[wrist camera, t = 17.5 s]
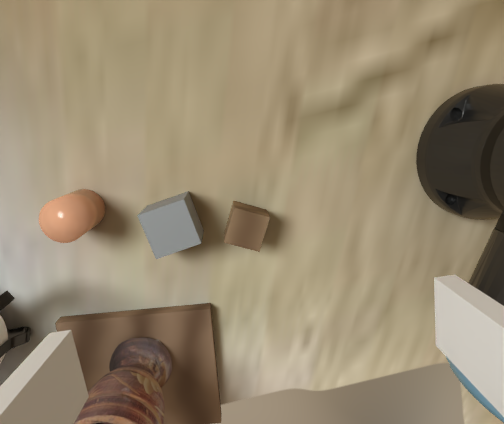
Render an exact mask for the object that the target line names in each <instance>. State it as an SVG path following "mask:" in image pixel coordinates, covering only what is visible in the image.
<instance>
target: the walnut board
mask: <svg viewBox="0 0 504 424" xmlns="http://www.w3.org/2000/svg"><path fill="white" fill-rule="evenodd" d="M55 325H56V330H57V332H59V331H66V330H71V331H72V335H73V339H74V342H75V346H76V350H77V354H78V358H79V361H80V365H81V369H82V373H83V377H84V380H85V384H86V388H87V392H88V391H89V390H90V389H91V388H92V387H93V386H94V385H95V384H96V383H97V382H98V381H99V380H100V379H101V378H102V377H103V376H105V375H106V374H107V373H109V372H110V369H109V363H110V360H111V356H112V354H113V352H114V350H115V349H116V348H117V346H118V345H119V344H121V343H122V342H124V341H126V340H128V339H131V338H151V339H155V340H160V342H161V343H162V344H163V345H164V346H165V348H166V349H167V350H168V352H169V354H170V356H171V360H172V372H171V375H170V377H169V379H168V381H167V382H166V384H165V385H164V386H163V387H162V388H161V389H162V392H163V397H164V404H165V414H164V424H210V423H221V407H220V395H219V385H218V375H217V365H216V355H215V345H214V334H213V324H212V314H211V304H210V303H206V304H196V305H185V306H174V307H163V308H152V309H141V310H130V311H119V312H108V313H98V314H87V315H76V316H65V317H60V318H59V320H58V321H57V322H56V323H55Z"/></svg>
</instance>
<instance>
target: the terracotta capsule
mask: <svg viewBox="0 0 504 424" xmlns="http://www.w3.org/2000/svg"><path fill="white" fill-rule="evenodd" d="M104 215H105V204H104V202H103V200H102V198H101V197H100V196H99V195H98V194H97V193H95V192H93V191H91V190H87V189H80V190H77V191H74V192H72V193H69V194H67V195H64V196H62V197H59V198H57V199H54V200H52V201H50V202H48V203H47V204H45V205H44V206H43V208H42V209H41V211H40V214H39V224H40V227H41V229H42V231H43V232H44V233H45V235H46V236H48V237H49V238H50V239H52V240H54V241H57V242H61V243H68V242H72V241H75V240H76V239H78V238H79V237H81V236H82V235H83V234H85V233H86V232H87V231H89V230H90V229H92V228H93V227H94V226H96V225H97V224H98V223H100V222H101V220H102V219H103V217H104Z"/></svg>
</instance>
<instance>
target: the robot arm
mask: <svg viewBox="0 0 504 424" xmlns="http://www.w3.org/2000/svg"><path fill="white" fill-rule="evenodd" d="M417 171H418V176H419V179H420V182H421V184H422V187H423V189H424V190H425V192H426V194H427V195H428V196H429V197H430V199H431V200H432V201H433V202H434V203H435V204H437V205H438V206H439V207H441V208H442V209H444V210H446V211H448V212H451V213H454V214H456V215H459V216H462V217H465V218H470V219H480V220H484V219H496V218H499V220H498V222H497V225H496V227H495V229H494V230H493V232H492V234H491V236H490V238H489V240H488V243H487V245H486V247H485V249H484V251H483V253H482V255H481V257H480V260H479V262H478V264H477V266H476V268H475V270H474V272H473V274H472V277H471V279H470V281H469V283H467V282H466V281H464V280H463V279H461V278H460V277H458V276H456V275H448V276H441V277H434V292H435V330H436V346H437V347H438V348H439V349H440V350H441V351H442V352H443V353H444V355H445V356H446V358H447V360H448V362H449V363H450V367H451V369H452V370H453V372H454V374H455V375H456V376H457V378H458V379H459V380H460V382H461V383H462V384H463V385H464V387H465V388H466V389H467V390H468V391H469V392H470V393H471V394H472V395H473V396H474V397H475V398H476V399H477V400H478V401H479V402H480V403H481V404H482V405H483V406H484V407H485V408H486V409H488V410H489V411H490V412H491V413H492V414H493V415H495V416H496V417H497V418H498V419H500V420H501V421H502V422H503V423H504V84H492V85H485V86H479V87H474V88H470V89H467V90H464V91H462V92H460V93H458V94H456V95H454V96H453V97H451V98H450V99H448V100H447V101H446V102H444V103H443V104H442V105H441V106H440V107H439V108H438V109H437V110H436V111H435V112H434V114H433V115H432V116H431V118H430V119H429V121H428V122H427V124H426V126H425V128H424V130H423V132H422V134H421V137H420V140H419V144H418V149H417ZM88 397H89V395H88V392H87V388H86V384H85V380H84V377H83V373H82V369H81V365H80V361H79V358H78V354H77V350H76V346H75V342H74V339H73V335H72V331H71V330H66V331H59V332H52V333H49V334H48V335H47V336H46V337H45V338H44V339H43V341H42V342H41V343H40V344H39V345H38V346H37V347H36V348H35V349H34V350H33V351H32V352H31V354H30V355H29V356H28V357H27V358H26V359H25V360H24V361H23V362H22V363H21V364H20V365H19V367H18V368H17V369H16V370H15V371H14V372H13V373H12V374H11V375H10V376H9V377H8V378H7V380H6V381H5V382H4V383H3V384H2V385H1V386H0V424H74V422H75V421H76V419H77V417H78V415H79V413H80V412H81V410H82V408H83V406H84V404H85V402H86V401H87V399H88Z"/></svg>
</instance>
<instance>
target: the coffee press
mask: <svg viewBox="0 0 504 424" xmlns="http://www.w3.org/2000/svg"><path fill="white" fill-rule="evenodd" d="M13 300H14V297H13V296H12V295H11V294H10V293H9V292H8V291H6V292H4V293H3V294H2V295H0V310H2V309H3V308H4V307H5V306H7V305H8V304H9V303H10V302H11V301H13ZM29 340H30V328H29V327H19V328H16V329H11V330H7V328H6V325H5V322H4V320H3V318H2V317H1V315H0V364H1V362H2V360H3V359H4V356H5V354H6V352H7V351H8V350H10V349H11V348H13V347H16V346H18V345H21V344H24V343H26V342H28V341H29Z"/></svg>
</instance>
